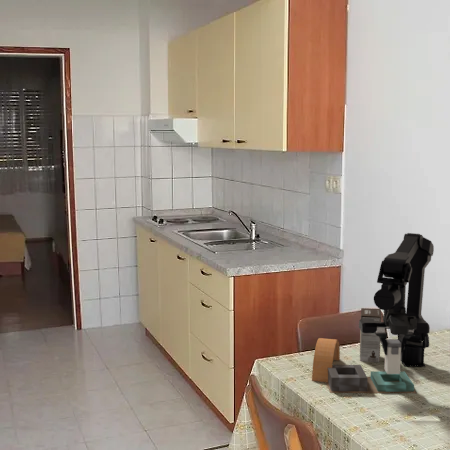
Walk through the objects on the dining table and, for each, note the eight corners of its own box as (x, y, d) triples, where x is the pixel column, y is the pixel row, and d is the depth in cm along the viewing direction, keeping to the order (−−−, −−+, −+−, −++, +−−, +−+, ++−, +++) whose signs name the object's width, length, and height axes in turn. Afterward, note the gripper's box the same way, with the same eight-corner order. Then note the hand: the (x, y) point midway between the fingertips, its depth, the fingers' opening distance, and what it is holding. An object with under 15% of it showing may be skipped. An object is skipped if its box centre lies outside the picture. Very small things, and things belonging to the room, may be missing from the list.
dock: (405, 380, 185) (405, 363, 184) (416, 396, 173) (417, 379, 172) (324, 379, 185) (324, 363, 185) (329, 396, 174) (330, 378, 173)
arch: (340, 361, 199) (341, 331, 198) (331, 385, 181) (331, 352, 179) (322, 359, 201) (322, 329, 200) (311, 383, 182) (311, 350, 181)
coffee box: (359, 354, 207) (360, 307, 205) (379, 355, 206) (380, 308, 203) (359, 364, 198) (361, 315, 196) (380, 365, 197) (382, 316, 195)
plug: (396, 369, 180) (398, 339, 179) (400, 374, 176) (401, 344, 175) (384, 369, 180) (385, 339, 179) (387, 374, 176) (388, 344, 175)
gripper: (367, 309, 168) (365, 364, 170) (436, 309, 167) (434, 365, 170) (359, 298, 179) (357, 351, 181) (424, 298, 178) (422, 351, 181)
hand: (392, 354), depth 178 cm, fingers closed on plug, 4 cm apart
